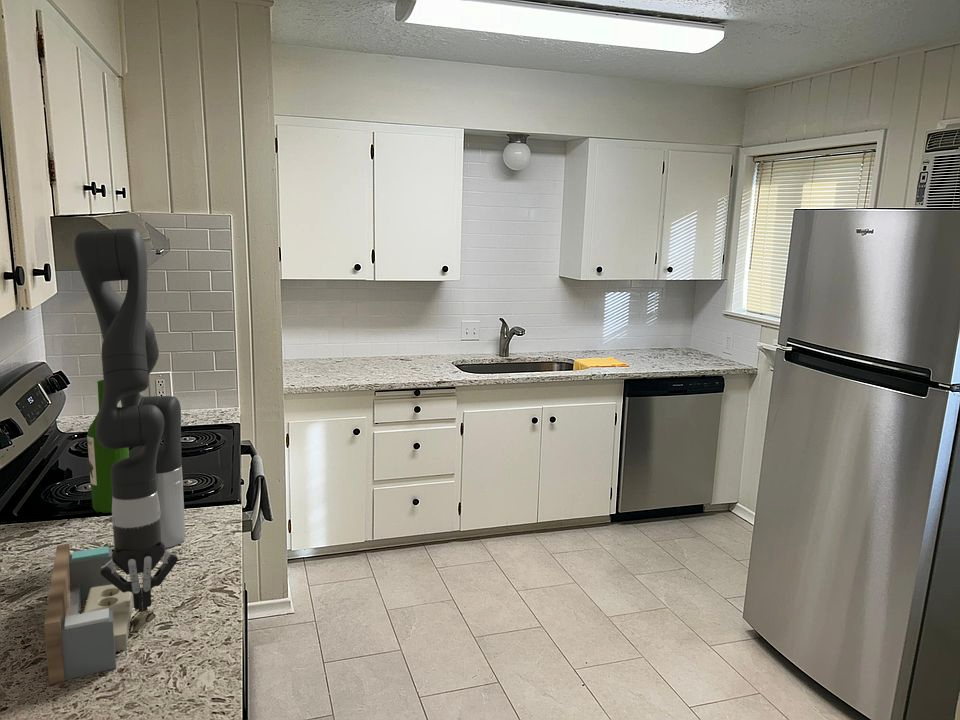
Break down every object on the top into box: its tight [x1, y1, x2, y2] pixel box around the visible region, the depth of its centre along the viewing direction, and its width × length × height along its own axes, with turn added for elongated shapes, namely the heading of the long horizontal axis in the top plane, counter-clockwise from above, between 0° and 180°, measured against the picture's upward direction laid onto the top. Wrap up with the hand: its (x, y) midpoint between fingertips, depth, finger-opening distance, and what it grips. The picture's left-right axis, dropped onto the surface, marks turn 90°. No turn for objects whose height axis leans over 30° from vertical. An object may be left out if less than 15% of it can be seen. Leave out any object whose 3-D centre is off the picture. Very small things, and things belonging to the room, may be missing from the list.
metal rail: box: [68, 584, 82, 616], centre depth 122 cm, size 22×2×4 cm, turn 27°
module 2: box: [61, 608, 117, 681], centre depth 111 cm, size 4×7×9 cm, turn 118°
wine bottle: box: [86, 379, 130, 514], centre depth 176 cm, size 9×9×32 cm
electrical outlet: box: [82, 584, 134, 652], centre depth 123 cm, size 7×4×18 cm
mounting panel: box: [43, 543, 71, 686], centre depth 120 cm, size 31×2×10 cm, turn 28°
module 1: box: [69, 545, 113, 602], centre depth 134 cm, size 4×7×9 cm, turn 118°
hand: (142, 609), depth 127 cm, fingers closed
